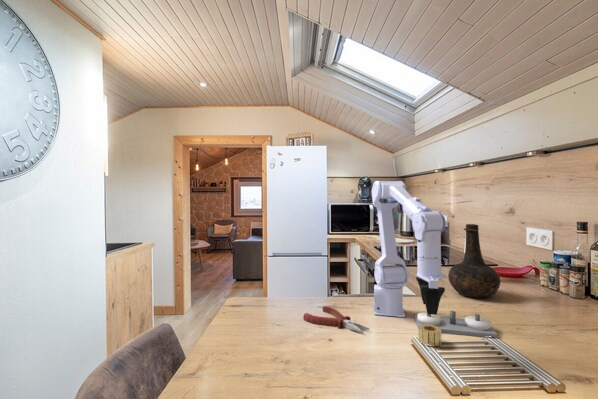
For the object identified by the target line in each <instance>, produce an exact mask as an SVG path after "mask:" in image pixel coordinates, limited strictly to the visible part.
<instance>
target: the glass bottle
mask: <svg viewBox="0 0 598 399" xmlns="http://www.w3.org/2000/svg"><path fill="white" fill-rule="evenodd" d="M479 226H480V225H478V224H474V223H467V224H465V227H464V228H463V231H465V238H466V245H465V244H464V249H465V253H464V255H463V256H464V257H463V260H462V262H459V263H457V264H454V265H453V266H452V267H451V268H450V269H449V270H448V274H447V275H448V276H447V277H448V281H449V284H450V285H451V287H452V288H453V289H454V290H455V291H456V292H457V293H458V294H459V295H462V296H464V297H468V298H473V299H485V298H489V297H492V296H493V295H495V294H496V293H497V292H498V290H499V288H500V286H501V277H500V275H499V273H498V272H497V271H496V270H495V269H494V268H493V267H491V266H490V265H487V264H486V262H485V260H484V259H483V255H482V250H481V245H480V235H479Z"/></svg>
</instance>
